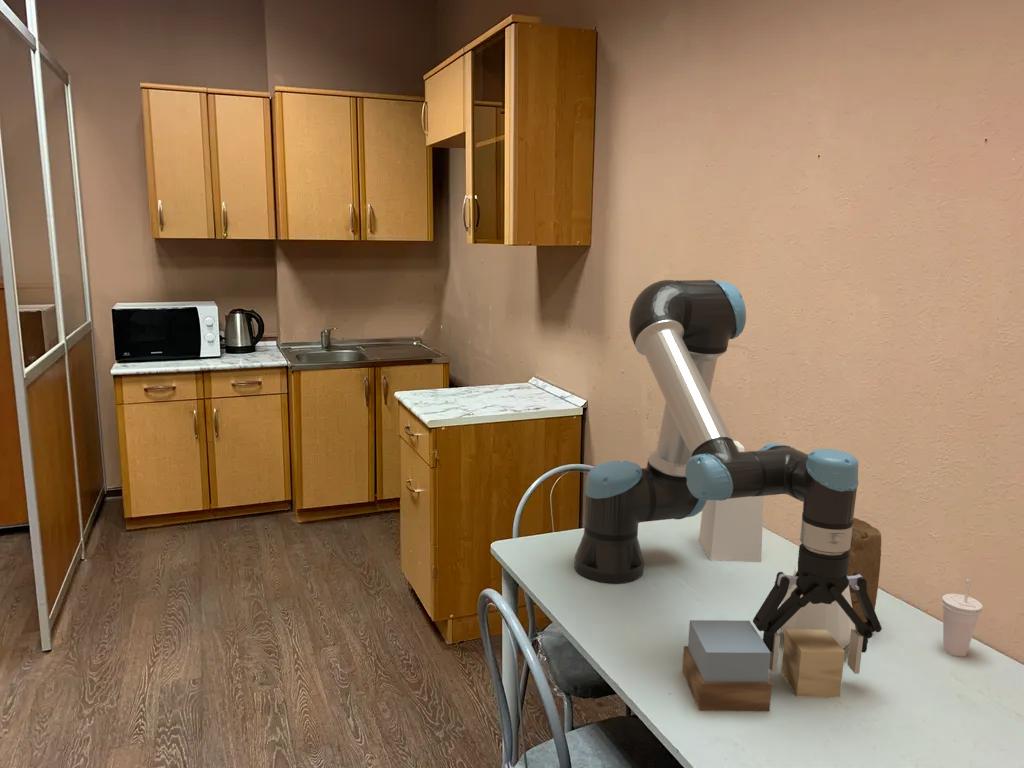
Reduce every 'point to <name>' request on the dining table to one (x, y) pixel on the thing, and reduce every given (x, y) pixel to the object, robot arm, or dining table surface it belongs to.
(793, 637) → the oak block
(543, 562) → the dining table surface
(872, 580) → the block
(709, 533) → the milk
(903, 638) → the dining table surface
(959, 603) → the smoothie
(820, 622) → the white ceramic vase
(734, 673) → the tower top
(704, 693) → the tower base
